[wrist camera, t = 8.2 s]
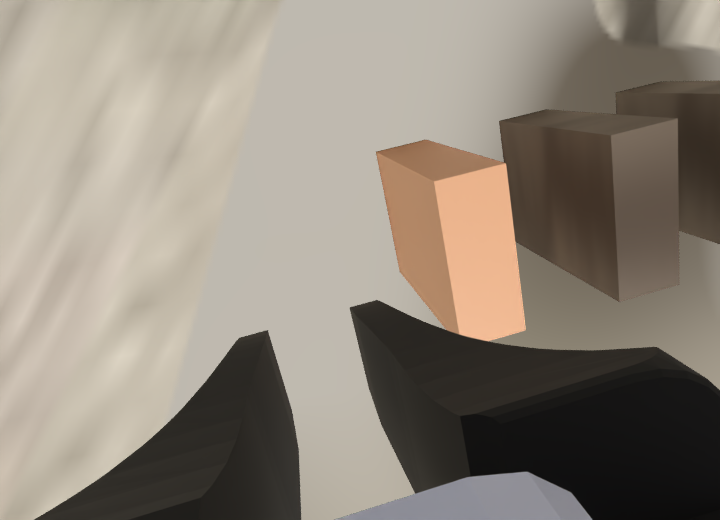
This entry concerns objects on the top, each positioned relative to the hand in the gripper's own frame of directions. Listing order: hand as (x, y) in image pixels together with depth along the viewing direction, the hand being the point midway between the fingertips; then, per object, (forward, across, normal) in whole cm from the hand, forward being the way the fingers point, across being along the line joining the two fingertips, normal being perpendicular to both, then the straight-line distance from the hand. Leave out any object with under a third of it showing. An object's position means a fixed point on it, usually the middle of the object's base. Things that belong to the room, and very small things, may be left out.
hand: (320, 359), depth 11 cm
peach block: (+10, -5, 0) cm, 11 cm away
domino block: (+10, -10, 0) cm, 14 cm away
